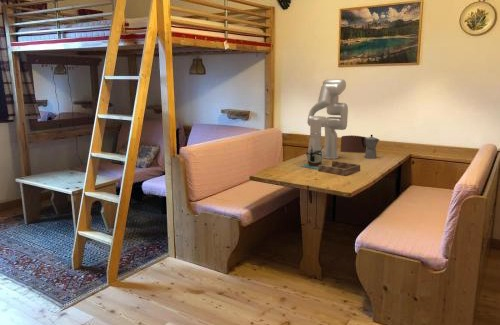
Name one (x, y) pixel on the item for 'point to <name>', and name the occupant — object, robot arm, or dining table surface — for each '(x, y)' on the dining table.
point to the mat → (310, 166)
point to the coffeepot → (370, 147)
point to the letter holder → (352, 144)
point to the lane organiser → (346, 171)
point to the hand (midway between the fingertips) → (315, 160)
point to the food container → (315, 158)
